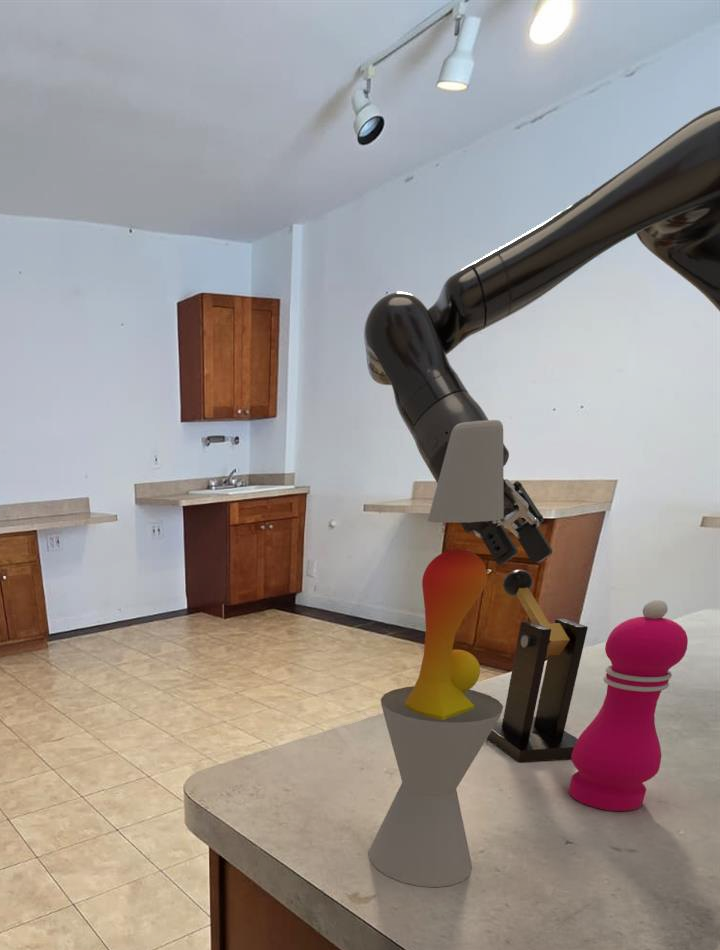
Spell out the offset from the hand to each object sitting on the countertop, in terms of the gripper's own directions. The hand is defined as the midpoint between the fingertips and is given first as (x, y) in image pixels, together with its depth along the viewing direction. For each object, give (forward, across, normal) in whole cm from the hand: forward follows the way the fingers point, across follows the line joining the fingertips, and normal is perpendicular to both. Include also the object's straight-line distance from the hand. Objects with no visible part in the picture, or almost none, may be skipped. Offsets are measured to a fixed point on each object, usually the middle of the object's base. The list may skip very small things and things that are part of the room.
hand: (526, 559), depth 72 cm
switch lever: (+5, +4, +5) cm, 8 cm away
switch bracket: (+19, +3, +11) cm, 22 cm away
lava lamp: (+25, -29, +10) cm, 40 cm away
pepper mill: (+27, -6, +3) cm, 28 cm away
